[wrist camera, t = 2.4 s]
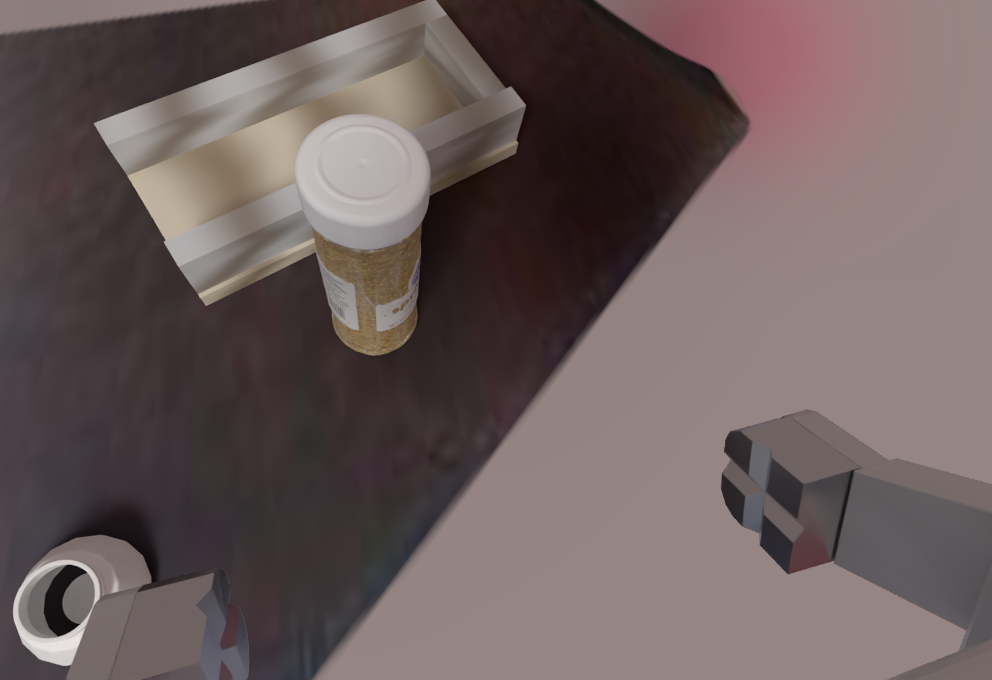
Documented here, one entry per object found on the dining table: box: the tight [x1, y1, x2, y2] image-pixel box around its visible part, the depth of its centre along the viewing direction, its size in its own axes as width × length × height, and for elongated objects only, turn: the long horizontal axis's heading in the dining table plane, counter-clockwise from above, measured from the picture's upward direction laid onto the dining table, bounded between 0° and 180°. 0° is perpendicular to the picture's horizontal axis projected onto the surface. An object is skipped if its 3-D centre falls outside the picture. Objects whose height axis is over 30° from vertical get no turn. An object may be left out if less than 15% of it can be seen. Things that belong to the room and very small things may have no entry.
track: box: [94, 0, 526, 306], centre depth 34 cm, size 20×10×4 cm, turn 125°
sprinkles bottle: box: [294, 114, 431, 355], centre depth 27 cm, size 5×5×13 cm
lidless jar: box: [13, 535, 151, 666], centre depth 25 cm, size 5×3×5 cm
